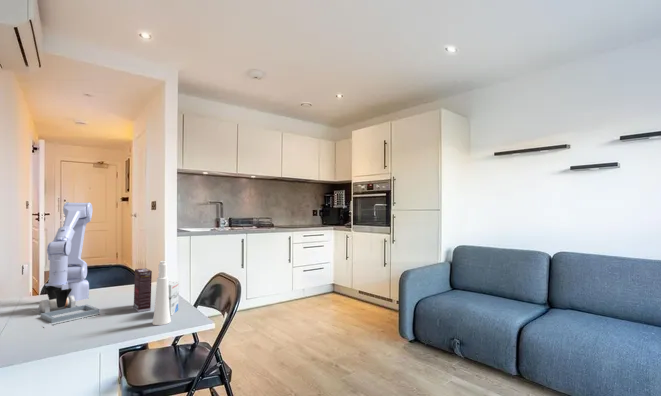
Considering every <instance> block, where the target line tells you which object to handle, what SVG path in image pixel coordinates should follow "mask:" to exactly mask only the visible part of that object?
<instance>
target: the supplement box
mask: <svg viewBox="0 0 661 396" xmlns="http://www.w3.org/2000/svg"><path fill="white" fill-rule="evenodd" d="M152 274H153V272H152V270H150V269H148V268H145V267H144V268H136V269H134V283H133V284H134V286H133V287H134V288H133V309H134V310H136V311H137V312H138V313H140V312H141V313H142V312H146V311H147V312H148V311H151V310H152V309H151V307H152V306H151V305H152Z"/></svg>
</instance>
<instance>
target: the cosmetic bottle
mask: <svg viewBox="0 0 661 396" xmlns="http://www.w3.org/2000/svg"><path fill="white" fill-rule="evenodd" d="M168 281H169V277H168V264H167V260H161V261H159V264H158V276H157V278H156V285H155V286H156V287H155V300H154V301H155V302H154V312H153V318H152V322H151V323H152V326H153V325H154V326H165V325H167V324H170V323H171V322H172V319H171V316H170V311H169V287H168Z"/></svg>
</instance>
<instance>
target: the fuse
mask: <svg viewBox="0 0 661 396" xmlns="http://www.w3.org/2000/svg"><path fill="white" fill-rule="evenodd" d="M71 301H75V298H74V296H73V295H71V296H68V297H67V300H66V304H65V307H61V308H66V307H68V308H69V307H71ZM39 303H40V310H41V312H42V313H43V312H45V306H48V305H50V310H55V309H60V308H58V307H57V302H56V299H52V300H49V299H42V300H41V301H40V302H39Z"/></svg>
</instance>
